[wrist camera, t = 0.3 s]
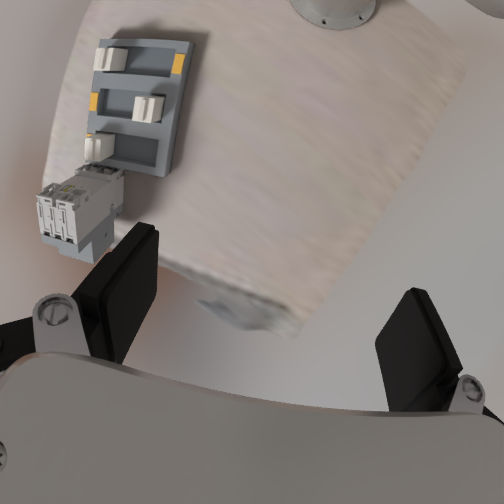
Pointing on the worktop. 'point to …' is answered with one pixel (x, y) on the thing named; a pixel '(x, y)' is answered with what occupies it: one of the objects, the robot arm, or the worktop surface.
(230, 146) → the worktop surface
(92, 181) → the circuit breaker
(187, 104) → the worktop surface
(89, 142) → the tab
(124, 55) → the tab
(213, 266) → the worktop surface
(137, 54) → the switch bank
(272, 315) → the worktop surface
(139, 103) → the tab
